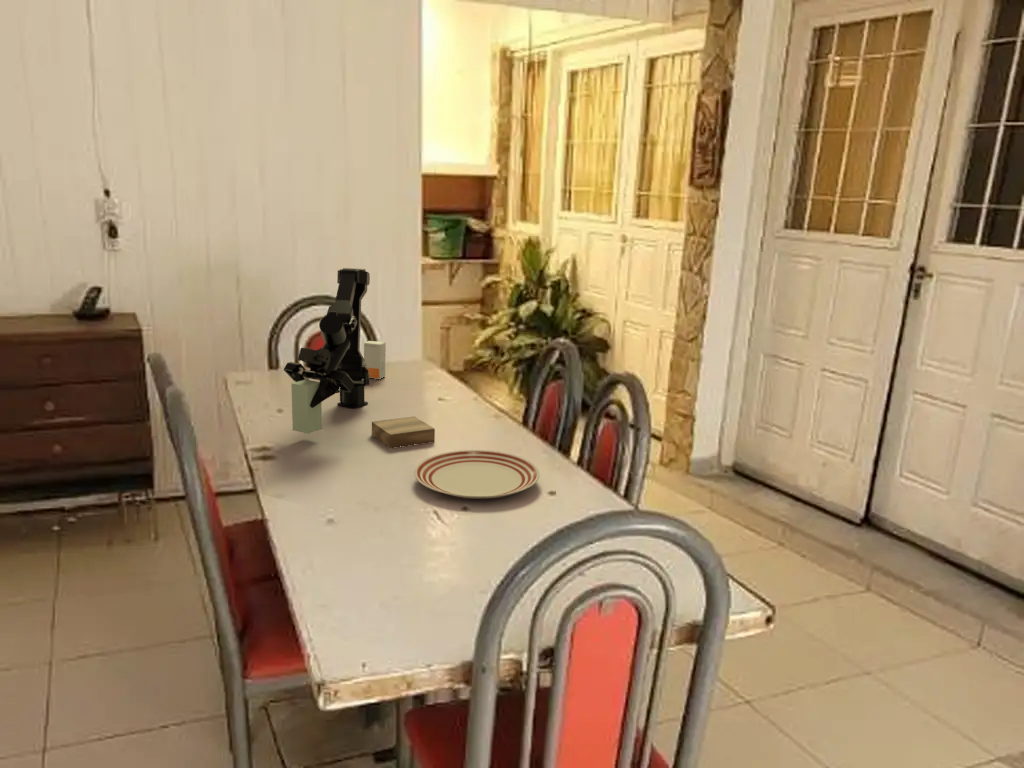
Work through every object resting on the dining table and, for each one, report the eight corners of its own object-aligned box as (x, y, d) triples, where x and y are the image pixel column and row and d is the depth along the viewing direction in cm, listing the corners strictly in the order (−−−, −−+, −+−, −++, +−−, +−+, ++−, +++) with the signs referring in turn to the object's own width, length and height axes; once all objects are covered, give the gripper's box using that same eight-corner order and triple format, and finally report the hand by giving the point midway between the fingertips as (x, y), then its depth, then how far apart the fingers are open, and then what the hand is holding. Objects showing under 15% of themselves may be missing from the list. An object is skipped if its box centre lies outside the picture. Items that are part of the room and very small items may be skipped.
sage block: (321, 428, 205) (320, 382, 202) (308, 433, 201) (307, 386, 198) (306, 425, 207) (305, 379, 204) (292, 430, 203) (291, 383, 200)
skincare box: (363, 378, 269) (363, 342, 266) (369, 375, 273) (369, 340, 270) (380, 380, 267) (380, 344, 264) (386, 377, 271) (386, 342, 268)
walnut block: (371, 436, 211) (371, 421, 210) (414, 430, 217) (414, 416, 216) (390, 450, 201) (390, 434, 200) (434, 443, 207) (434, 428, 206)
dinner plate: (526, 514, 165) (527, 499, 164) (396, 499, 170) (397, 484, 169) (548, 469, 191) (548, 456, 190) (435, 457, 196) (435, 444, 195)
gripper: (287, 330, 206) (256, 381, 199) (346, 339, 198) (315, 393, 191) (309, 355, 215) (280, 405, 208) (366, 365, 206) (338, 417, 199)
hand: (302, 405), depth 201 cm, fingers closed on sage block, 5 cm apart
